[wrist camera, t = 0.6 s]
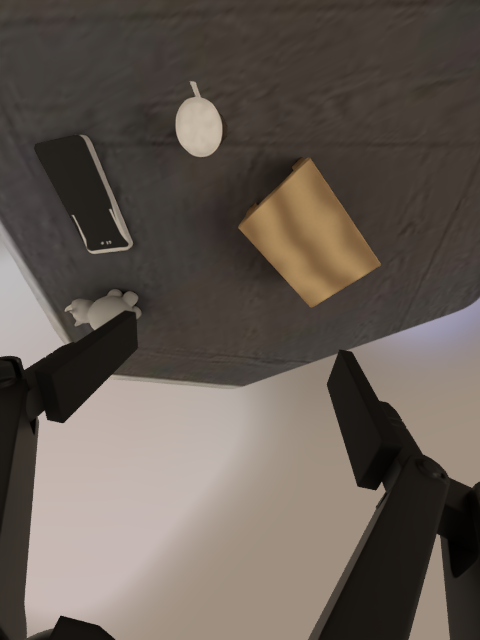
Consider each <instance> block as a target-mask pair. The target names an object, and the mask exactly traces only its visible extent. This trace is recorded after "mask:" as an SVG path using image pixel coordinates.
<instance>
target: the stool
mask: <svg viewBox="0 0 480 640" xmlns="http://www.w3.org/2000/svg"><path fill="white" fill-rule="evenodd" d="M292 169H293V172H292V173H291V174H290V175H289V176H288V177H287V178H286V179H285V180H284V181H283V182H282V183H281V184H280V185H279V186H278V187H276V188H275V189H274V190H273V191H272V192H271V193H270V194H269V195H268V196H267V197H266V198H265V199H264V200H263V201H262V202H261V203H260V204H259V205H257V204H256V203H254V204H253V205H252V206H251V207H250V208H249V209H248V210H247V213H246V216H245V218H244V219H243V220H242V221H241V222H240V224H239V227H238V228H239V229H240V230H241V231H242V232H243V234H244V235H245V236H246V237H247V238H248V239H249V240H250V241H251V242H252V243H253V245H254V246H255V247H256V248H257V249H258V250H259V251H260V252H261V253H262V254H263V256H264V257H265V258H266V259H267V260H268V261H269V262H270V263H271V264H272V265H273V267H274V268H275V269H276V270H277V271H278V272H279V273H280V274H281V275H282V276H283V278H284V279H285V280H286V281H287V282H288V283H289V284H290V285H291V286H292V287H293V289H294V290H295V291H296V292H297V293H298V294H299V295H300V296H301V297H302V298H303V300H304V301H305V302H306V303H307V304H308V305H309V306H310V307H311V308H312V307H313V306H315V305H317V304H318V303H320V302H322V301H323V300H325V299H327V298H328V297H330V296H331V295H333V294H335V293H336V292H338V291H340V290H341V289H343V288H344V287H346V286H348V285H349V284H351V283H353V282H354V281H356V280H358V279H359V278H361V277H362V276H364V275H366V274H367V273H369V272H371V271H372V270H374V269H375V268H377V267H379V266H380V265H381V264H380V262H379V261H378V259H377V258H376V256H375V255H374V253H373V252H372V250H371V249H370V247H369V246H368V244H367V243H366V241H365V240H364V238H363V237H362V235H361V234H360V232H359V231H358V229H357V228H356V226H355V225H354V223H353V222H352V220H351V219H350V217H349V216H348V214H347V213H346V211H345V210H344V208H343V207H342V205H341V204H340V202H339V201H338V199H337V198H336V196H335V195H334V193H333V192H332V190H331V189H330V187H329V186H328V184H327V182H326V181H325V179H324V178H323V176H322V175H321V173H320V172H319V170H318V169H317V167H316V166H315V164H314V163H313V161H312V160H311V158H309V157H307V158H306V159H304V158H302V157H301V158H300V159H299V160H298V161H297V162H296V163H295V164H294V165H293V166H292Z"/></svg>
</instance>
